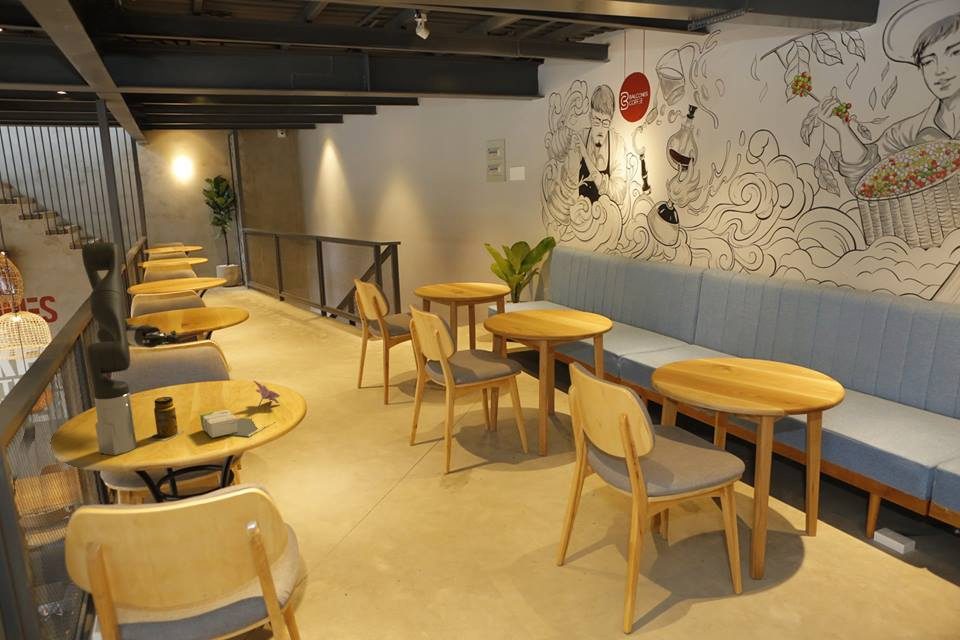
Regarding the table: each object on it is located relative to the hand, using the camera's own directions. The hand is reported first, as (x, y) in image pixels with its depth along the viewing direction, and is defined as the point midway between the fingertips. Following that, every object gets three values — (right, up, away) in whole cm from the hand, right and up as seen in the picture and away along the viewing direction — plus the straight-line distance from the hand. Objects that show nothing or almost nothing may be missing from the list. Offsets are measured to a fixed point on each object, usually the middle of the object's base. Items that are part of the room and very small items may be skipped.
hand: (177, 339), depth 219 cm
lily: (+25, -25, +17) cm, 39 cm away
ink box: (+14, -26, -3) cm, 29 cm away
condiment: (0, -31, -9) cm, 32 cm away
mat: (+24, -29, -4) cm, 38 cm away
